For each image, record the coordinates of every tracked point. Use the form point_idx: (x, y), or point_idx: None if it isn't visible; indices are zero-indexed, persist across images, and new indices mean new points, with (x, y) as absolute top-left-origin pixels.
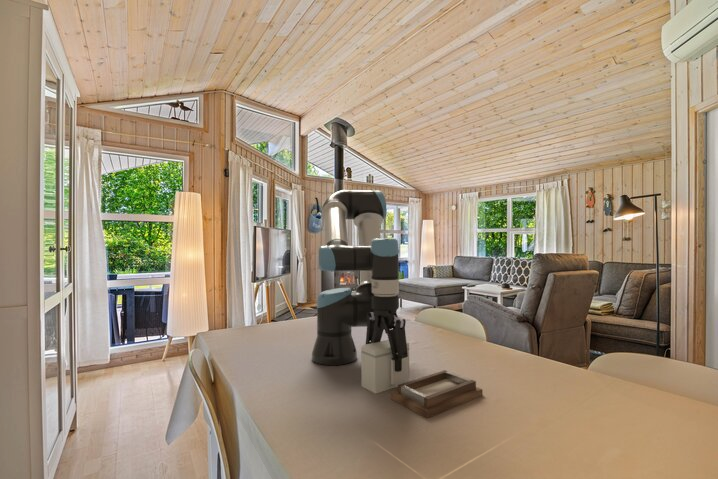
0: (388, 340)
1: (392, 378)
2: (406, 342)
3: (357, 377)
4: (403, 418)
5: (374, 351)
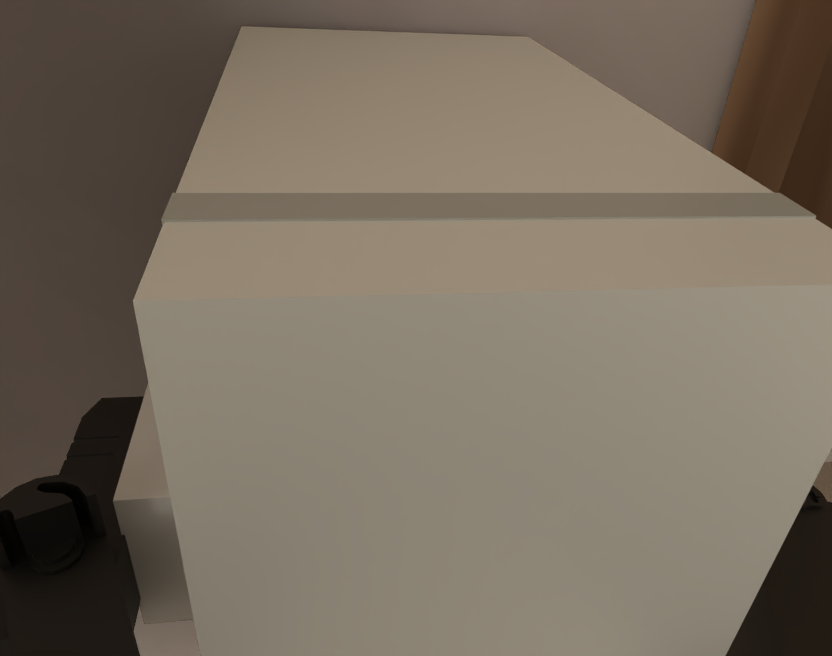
0: (252, 570)
1: None
2: (816, 308)
3: (19, 386)
4: (825, 487)
5: None
